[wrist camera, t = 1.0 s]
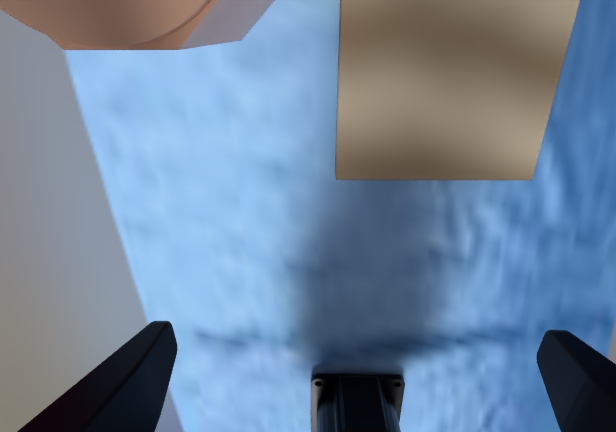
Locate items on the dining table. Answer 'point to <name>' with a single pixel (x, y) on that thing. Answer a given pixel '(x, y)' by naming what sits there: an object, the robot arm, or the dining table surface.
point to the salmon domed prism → (138, 22)
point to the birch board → (447, 87)
